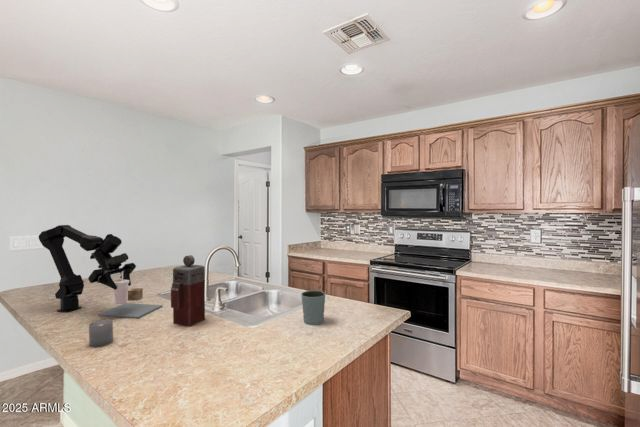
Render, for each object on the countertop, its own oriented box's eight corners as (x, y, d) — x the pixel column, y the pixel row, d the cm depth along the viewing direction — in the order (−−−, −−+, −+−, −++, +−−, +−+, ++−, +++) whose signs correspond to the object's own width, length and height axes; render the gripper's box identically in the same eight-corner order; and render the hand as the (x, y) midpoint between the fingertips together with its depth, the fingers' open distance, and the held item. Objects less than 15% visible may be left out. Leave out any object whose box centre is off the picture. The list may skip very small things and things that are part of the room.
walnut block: (127, 300, 161) (127, 291, 161) (132, 297, 166) (132, 288, 166) (138, 300, 162) (138, 290, 162) (142, 297, 167) (142, 288, 166)
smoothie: (124, 305, 135) (124, 272, 135) (109, 305, 135) (109, 272, 134) (132, 300, 142) (132, 269, 141) (117, 300, 141) (117, 269, 141)
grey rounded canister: (84, 346, 110) (83, 326, 109) (101, 337, 116) (100, 319, 116) (101, 347, 108) (100, 327, 108) (117, 339, 115) (117, 320, 115)
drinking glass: (330, 321, 134) (330, 293, 134) (313, 328, 127) (313, 298, 126) (313, 315, 141) (313, 288, 141) (296, 321, 134) (296, 293, 133)
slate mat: (97, 315, 139) (97, 314, 139) (125, 304, 155) (125, 302, 155) (138, 318, 136) (138, 316, 136) (162, 306, 152) (162, 305, 152)
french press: (168, 325, 129) (167, 257, 128) (189, 316, 139) (188, 253, 138) (185, 328, 125) (184, 258, 124) (205, 319, 136) (204, 254, 135)
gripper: (92, 251, 130) (112, 280, 127) (133, 245, 148) (151, 271, 144) (80, 268, 133) (98, 297, 130) (121, 260, 150) (138, 286, 147)
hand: (123, 287), depth 138 cm, fingers closed on smoothie, 6 cm apart
